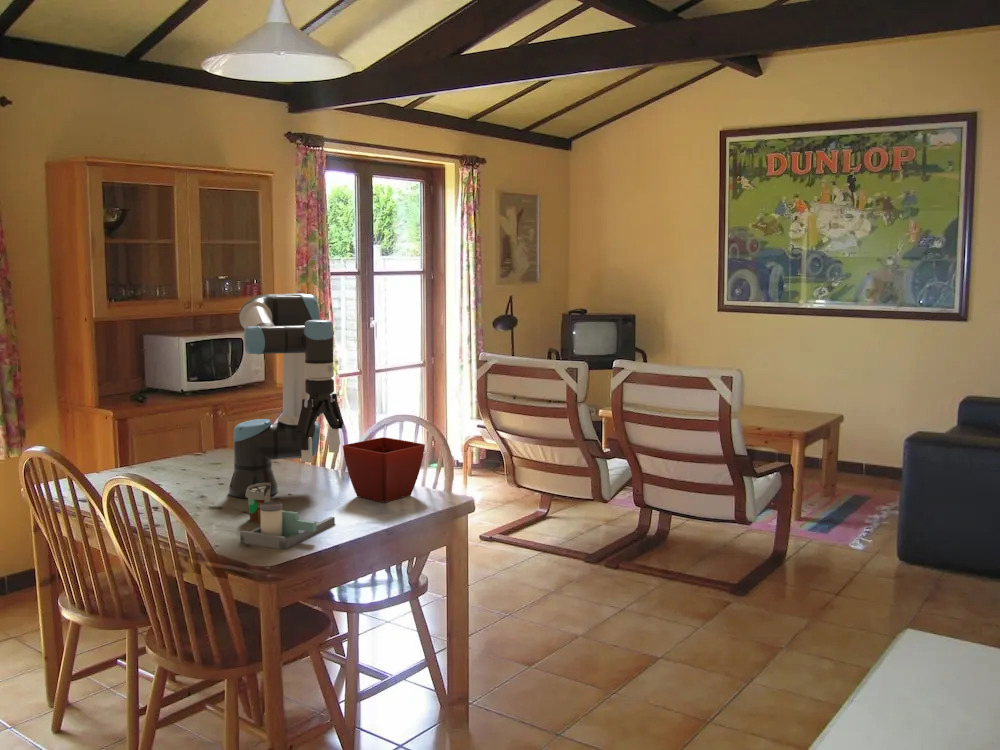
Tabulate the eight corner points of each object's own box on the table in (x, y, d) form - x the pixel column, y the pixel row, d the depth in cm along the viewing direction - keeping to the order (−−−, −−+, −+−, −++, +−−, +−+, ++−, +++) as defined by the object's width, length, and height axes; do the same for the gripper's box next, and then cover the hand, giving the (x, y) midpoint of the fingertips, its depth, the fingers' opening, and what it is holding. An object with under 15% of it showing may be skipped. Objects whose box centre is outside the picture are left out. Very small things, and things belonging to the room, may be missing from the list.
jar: (256, 542, 250) (255, 506, 249) (269, 536, 255) (268, 500, 254) (274, 545, 248) (273, 508, 247) (287, 539, 253) (286, 503, 252)
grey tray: (239, 545, 250) (239, 531, 250) (293, 521, 273) (293, 508, 273) (284, 552, 245) (283, 538, 245) (335, 526, 268) (335, 513, 268)
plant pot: (383, 485, 316) (383, 436, 313) (426, 495, 304) (426, 444, 302) (341, 497, 300) (340, 445, 298) (384, 507, 289) (384, 453, 287)
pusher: (263, 534, 257) (262, 509, 256) (268, 531, 259) (268, 507, 258) (313, 541, 251) (312, 516, 250) (318, 539, 253) (318, 513, 252)
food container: (250, 515, 279) (249, 482, 277) (271, 515, 279) (270, 482, 278) (242, 527, 266) (241, 493, 265) (264, 527, 267) (263, 492, 266)
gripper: (306, 384, 238) (307, 467, 240) (355, 374, 261) (356, 449, 263) (280, 383, 240) (282, 464, 243) (331, 372, 264) (332, 447, 266)
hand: (320, 457), depth 253 cm, fingers open, 13 cm apart
